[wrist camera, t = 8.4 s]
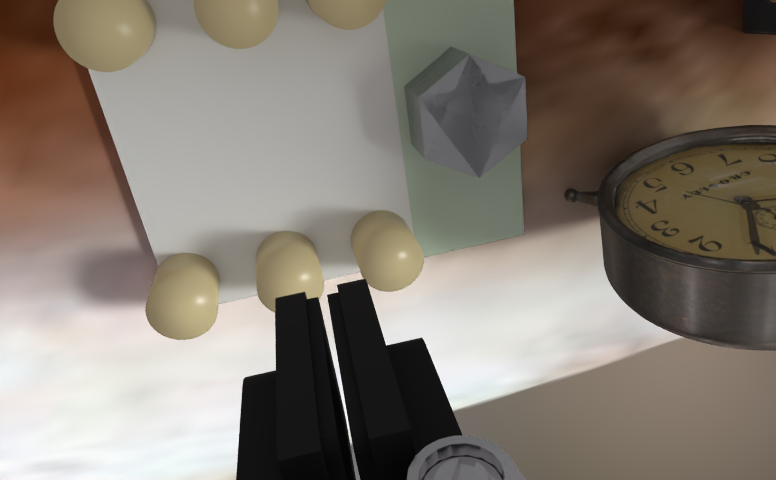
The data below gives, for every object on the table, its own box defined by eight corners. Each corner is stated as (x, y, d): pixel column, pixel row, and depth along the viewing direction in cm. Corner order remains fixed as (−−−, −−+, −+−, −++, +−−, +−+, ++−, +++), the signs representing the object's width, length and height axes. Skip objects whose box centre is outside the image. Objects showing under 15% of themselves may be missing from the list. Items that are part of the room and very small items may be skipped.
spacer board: (504, -85, 24) (538, -91, 21) (520, 230, 30) (547, 257, 27) (50, -14, 22) (21, -11, 19) (167, 310, 28) (158, 348, 25)
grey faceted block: (500, 37, 25) (524, 43, 23) (506, 152, 27) (528, 167, 25) (400, 55, 25) (414, 64, 23) (414, 171, 27) (428, 188, 25)
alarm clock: (745, 98, 30) (1218, 224, 15) (744, 195, 32) (1152, 383, 18) (540, 169, 29) (834, 373, 14) (556, 263, 31) (820, 517, 17)
